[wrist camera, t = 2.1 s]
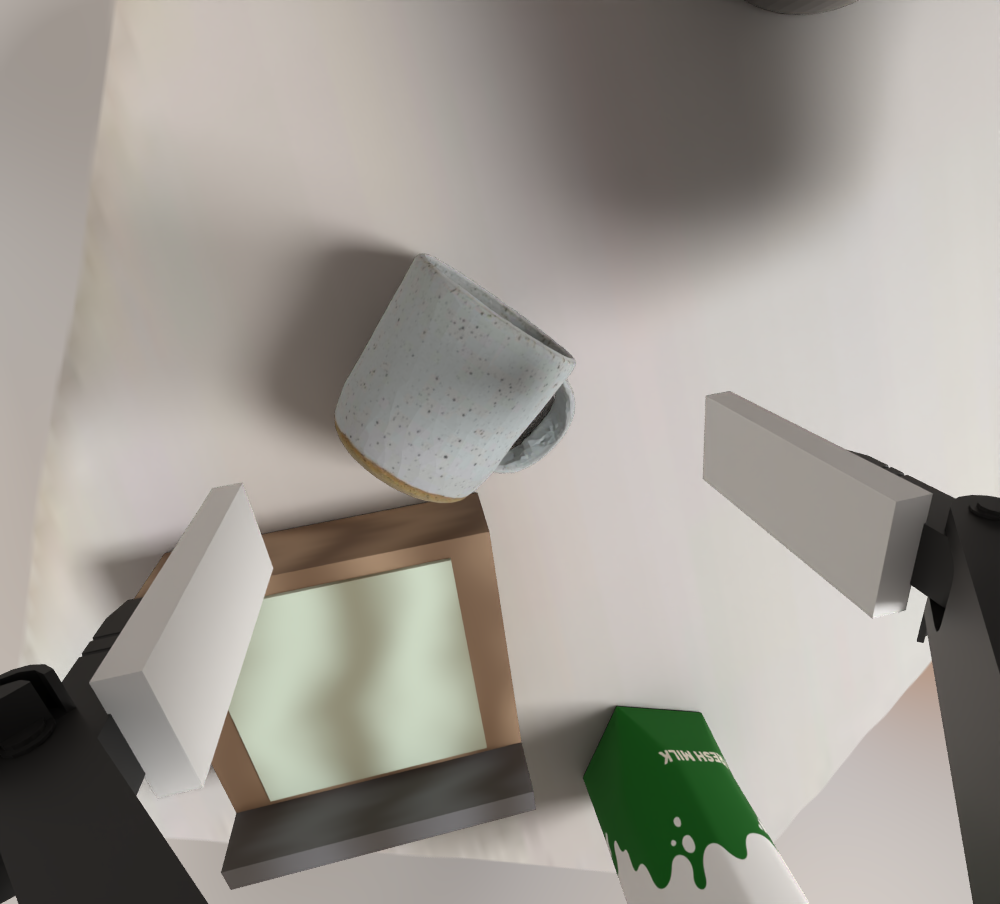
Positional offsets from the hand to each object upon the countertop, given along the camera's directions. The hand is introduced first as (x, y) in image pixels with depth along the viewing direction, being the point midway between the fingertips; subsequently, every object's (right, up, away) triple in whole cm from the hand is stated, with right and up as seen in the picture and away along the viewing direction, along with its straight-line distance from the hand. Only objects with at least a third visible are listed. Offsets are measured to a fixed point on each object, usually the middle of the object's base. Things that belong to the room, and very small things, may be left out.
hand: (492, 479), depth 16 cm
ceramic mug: (-1, +5, +11) cm, 12 cm away
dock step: (-8, -10, +16) cm, 21 cm away
